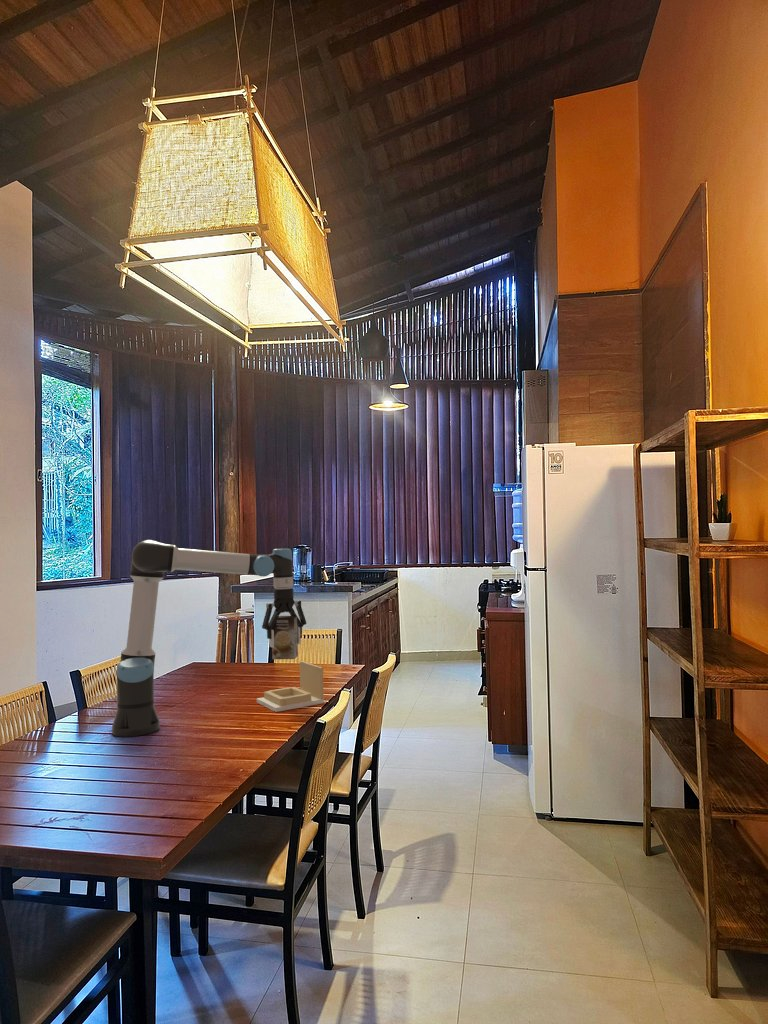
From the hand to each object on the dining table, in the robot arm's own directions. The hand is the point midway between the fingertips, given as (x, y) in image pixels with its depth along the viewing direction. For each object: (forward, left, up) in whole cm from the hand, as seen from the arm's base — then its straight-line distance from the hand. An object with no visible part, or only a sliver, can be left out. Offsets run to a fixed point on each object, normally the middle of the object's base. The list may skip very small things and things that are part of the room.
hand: (285, 645), depth 252 cm
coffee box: (0, 0, -5) cm, 5 cm away
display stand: (0, 0, -22) cm, 22 cm away
